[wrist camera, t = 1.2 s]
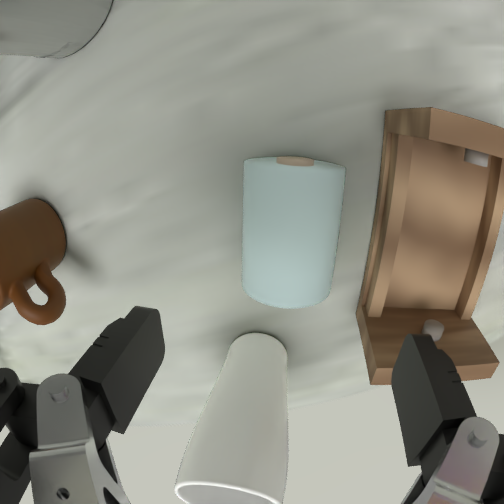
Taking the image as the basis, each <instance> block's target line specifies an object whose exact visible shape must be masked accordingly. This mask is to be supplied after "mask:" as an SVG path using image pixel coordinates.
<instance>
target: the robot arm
mask: <svg viewBox="0 0 504 504" xmlns="http://www.w3.org/2000/svg"><path fill="white" fill-rule="evenodd" d="M111 3H112V0H0V55H22V56H34V57H41V58H45V57H47V58H62V57H66V56H68V55H71V54H73V53H75V52H76V51H77V50H79V49H80V48H82V47H83V46H84V45H85V44H86V43H87V42H88V41H90V40H91V38H92V37H93V36H94V35H95V34H96V32H97V31H98V30H99V28H100V27H101V25H102V24H103V22H104V21H105V18H106V16H107V14H108V12H109V10H110V7H111ZM164 354H165V344H164V338H163V332H162V325H161V319H160V313H159V311H158V310H157V309H152V308H146V307H140V306H135V307H134V308H133V309H132V310H131V311H130V312H129V314H128V315H127V316H126V317H125V318H119V319H118V320H116V321H114V322H113V323H111V324H109V325H108V326H107V327H106V328H105V329H104V331H103V332H102V333H101V334H100V337H98V338H97V339H96V340H95V341H94V343H93V345H91V346H90V347H89V349H88V350H87V351H86V352H85V354H84V355H83V356H82V357H81V358H80V360H79V361H78V362H77V363H76V365H75V366H74V367H73V368H72V370H71V371H70V372H69V373H68V374H56V375H52V376H50V377H48V378H47V379H45V380H44V381H43V382H42V383H41V384H40V385H39V384H29V383H21V382H20V380H19V378H18V376H17V374H16V373H15V372H14V371H13V370H11V369H9V368H0V432H1V430H2V429H3V427H4V426H5V425H6V426H7V428H8V429H9V430H10V433H9V434H8V435H7V437H6V438H5V440H4V442H3V443H2V445H1V446H0V504H19V502H20V500H21V498H22V496H23V494H24V492H25V490H26V488H27V486H28V484H29V482H30V480H31V484H32V492H33V499H34V504H131V503H130V501H129V499H128V497H127V496H126V494H125V492H124V490H123V487H122V485H121V482H120V478H119V475H118V472H117V469H116V465H115V462H114V458H113V455H112V452H111V448H110V444H109V441H108V439H107V437H108V435H109V433H110V431H111V430H112V431H115V432H118V433H121V434H124V433H125V431H126V429H127V427H128V425H129V423H130V421H131V419H132V417H133V416H134V414H135V412H136V410H137V408H138V406H139V404H140V402H141V401H142V399H143V397H144V395H145V393H146V391H147V389H148V388H149V386H150V384H151V382H152V380H153V378H154V377H155V375H156V373H157V371H158V369H159V367H160V366H161V364H162V361H163V358H164ZM461 381H462V380H461V378H460V376H459V373H457V369H456V367H455V365H454V363H453V361H452V359H451V358H450V357H449V356H448V355H447V354H446V353H445V352H444V351H443V350H442V349H437V347H436V345H435V343H434V340H433V338H432V336H431V335H430V334H407V335H406V337H405V339H404V342H403V344H402V347H401V350H400V352H399V355H398V357H397V360H396V363H395V365H394V368H393V371H392V377H391V385H392V390H393V394H394V399H395V403H396V407H397V412H398V417H399V421H400V426H401V431H402V436H403V441H404V446H405V452H406V458H407V464H408V467H409V466H417V465H421V469H422V472H421V473H420V474H419V476H418V477H417V479H416V480H415V482H414V484H413V485H412V487H411V488H410V491H409V492H408V493H407V495H406V496H405V498H404V499H403V501H402V502H401V504H504V435H503V434H498V431H497V430H496V428H495V426H494V425H493V424H492V423H491V422H489V421H488V420H486V419H484V418H481V417H477V416H476V413H475V411H474V408H473V406H472V403H471V401H470V398H469V396H468V394H467V391H466V389H465V387H464V385H463V383H461Z"/></svg>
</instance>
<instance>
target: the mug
mask: <svg viewBox="0 0 504 504" xmlns="http://www.w3.org/2000/svg"><path fill="white" fill-rule="evenodd" d="M65 248H66V240H65V233H64V229H63V226H62V224H61V221H60V219H59V217H58V216H57V214H56V212H55V211H54V210H53V209H52V208H51V207H50V206H49V205H48V204H47V203H45V202H44V201H42V200H39V199H27V200H24V201H22V202H20V203H17V204H15V205H13V206H10V207H8V208H6V209H4V210H1V211H0V310H1V309H3V308H4V307H6V306H7V305H9V304H10V303H12V302H13V303H14V305H15V307H16V309H17V311H18V313H19V314H20V315H21V316H22V317H23V318H25V319H26V320H28V321H29V322H32V323H34V324H37V325H47V324H49V323H52V322H54V321H56V320H57V319H58V318H59V317H60V316H61V314H62V313H63V311H64V308H65V305H66V296H65V291H64V289H63V287H62V285H61V284H60V283H59V281H58V280H57V279H56V278H55V277H54V276H53V275H52V272H51V271H52V270H53V269H55V268H56V267H57V266H58V265H59V264H60V262H61V261H62V259H63V256H64V253H65ZM34 284H37V286H38V287H39V288H40V290H41V291H42V292H44V293H45V294H46V295H47V296H48V301H47V303H46V304H45V305H42V306H41V305H37V304H35V303H34V302H33V301H32V299H31V297H30V296H29V294H28V292H27V290H28V289H29V288H31V287H32V286H33V285H34Z"/></svg>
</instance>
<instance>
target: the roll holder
mask: <svg viewBox="0 0 504 504" xmlns="http://www.w3.org/2000/svg"><path fill="white" fill-rule="evenodd" d="M503 210H504V128H501V127H498V126H495V125H492V124H489V123H486V122H483V121H480V120H476V119H473V118H470V117H466V116H463V115H459V114H456V113H452V112H448V111H444V110H441V109H436V108H432V107H426V108H410V109H398V110H387V111H385V124H384V138H383V150H382V161H381V170H380V179H379V187H378V195H377V203H376V210H375V217H374V223H373V230H372V236H371V242H370V247H369V253H368V259H367V264H366V269H365V274H364V279H363V284H362V289H361V293H360V298H359V302H358V307H357V311H356V318H357V322H358V326H359V331H360V335H361V340H362V345H363V349H364V354H365V359H366V364H367V369H368V374H369V380H370V385H391V377H392V371H393V368H394V365H395V363H396V360H397V357H398V355H399V352H400V350H401V347H402V344H403V342H404V339H405V337H406V335H407V334H430V335H431V336H432V338H433V340H434V343H435V345H436V347H437V349H442V350H443V351H444V352H445V353H446V354H447V355H448V356H449V357H450V358H451V359H452V361H453V363H454V365H455V367H456V369H457V373H459V376H460V378H461V380H462V381H467V380H477V379H485V378H491V376H492V375H493V373H494V372H495V370H496V368H497V366H498V364H499V361H498V359H497V357H496V356H495V355H494V352H493V351H492V349H491V348H490V346H489V344H488V343H487V341H486V339H485V338H484V336H483V335H482V333H481V332H480V330H479V329H478V327H477V326H476V324H475V323H474V321H473V320H472V318H471V316H472V313H473V311H474V308H475V305H476V303H477V300H478V297H479V295H480V292H481V289H482V286H483V283H484V280H485V277H486V274H487V271H488V268H489V265H490V261H491V258H492V255H493V251H494V247H495V244H496V240H497V236H498V232H499V228H500V224H501V219H502V215H503Z"/></svg>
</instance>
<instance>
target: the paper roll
mask: <svg viewBox="0 0 504 504" xmlns="http://www.w3.org/2000/svg"><path fill="white" fill-rule="evenodd" d="M345 173H346V168H345V167H343V166H341V165H337V164H334V163H330V162H324V161H319V160H313V159H310V158H305V157H295V156H279V157H262V158H252V159H247V160H245V161H244V181H243V234H242V287H243V289H244V291H245V292H246V294H247V295H249V296H250V297H251V298H253V299H254V300H256V301H258V302H260V303H263V304H266V305H269V306H273V307H278V308H291V309H292V308H304V307H309V306H313V305H316V304H318V303H320V302H322V301H323V300H325V299H326V298H327V297H328V295H329V293H330V290H331V284H332V277H333V271H334V264H335V258H336V251H337V243H338V236H339V228H340V220H341V212H342V203H343V194H344V184H345Z"/></svg>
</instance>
